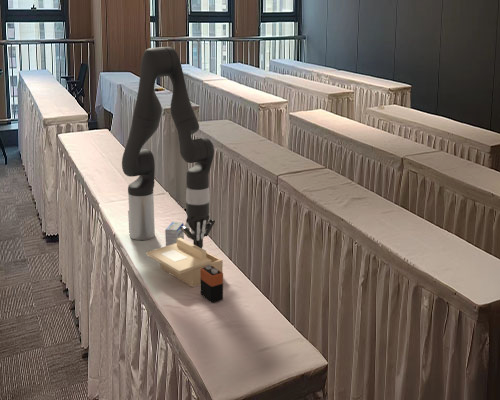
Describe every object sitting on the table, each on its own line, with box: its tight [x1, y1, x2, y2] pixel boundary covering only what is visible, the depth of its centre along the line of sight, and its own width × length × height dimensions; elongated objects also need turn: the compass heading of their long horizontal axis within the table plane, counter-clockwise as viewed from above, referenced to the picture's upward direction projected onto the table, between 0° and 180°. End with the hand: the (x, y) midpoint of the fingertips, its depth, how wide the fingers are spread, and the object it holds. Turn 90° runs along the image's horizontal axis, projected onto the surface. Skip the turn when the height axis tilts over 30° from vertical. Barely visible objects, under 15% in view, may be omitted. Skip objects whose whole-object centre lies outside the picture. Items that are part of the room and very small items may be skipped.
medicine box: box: [164, 221, 185, 246], centre depth 226 cm, size 8×4×9 cm, turn 168°
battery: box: [200, 265, 224, 304], centre depth 191 cm, size 4×7×10 cm, turn 35°
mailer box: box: [160, 251, 224, 288], centre depth 208 cm, size 18×12×6 cm, turn 42°
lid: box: [146, 238, 211, 274], centre depth 203 cm, size 18×12×4 cm
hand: (198, 249), depth 208 cm, fingers closed
